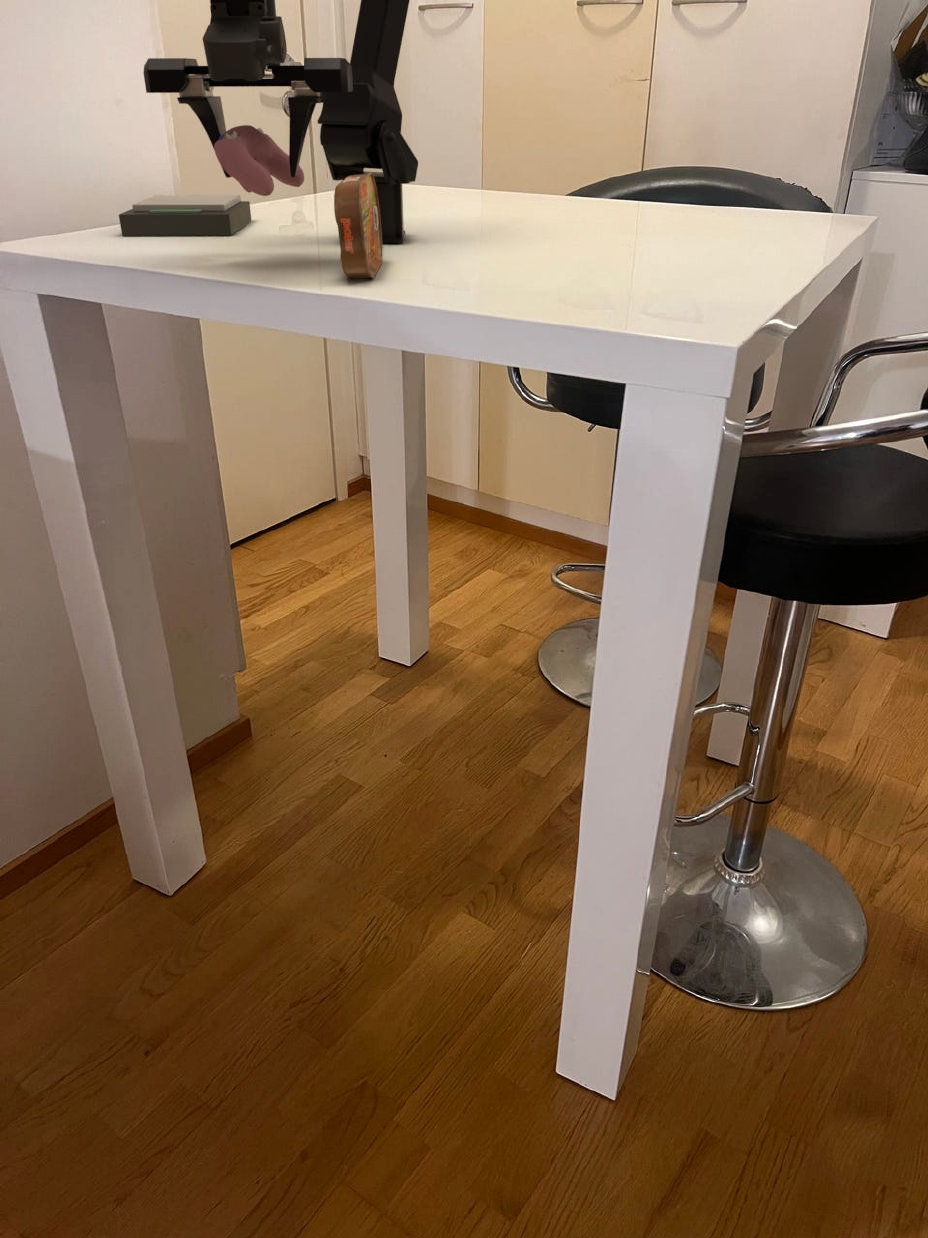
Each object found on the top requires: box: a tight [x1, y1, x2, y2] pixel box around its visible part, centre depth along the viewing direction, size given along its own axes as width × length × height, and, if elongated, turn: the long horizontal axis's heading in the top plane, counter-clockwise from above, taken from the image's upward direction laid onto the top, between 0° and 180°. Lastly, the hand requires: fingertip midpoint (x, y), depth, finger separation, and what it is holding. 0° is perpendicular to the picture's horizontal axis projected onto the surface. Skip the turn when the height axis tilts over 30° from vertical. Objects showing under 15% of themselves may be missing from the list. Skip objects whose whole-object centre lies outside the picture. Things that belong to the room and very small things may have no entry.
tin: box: [333, 173, 384, 279], centre depth 89 cm, size 15×3×8 cm, turn 179°
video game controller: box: [213, 124, 305, 197], centre depth 92 cm, size 10×5×7 cm, turn 168°
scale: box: [118, 194, 252, 237], centre depth 116 cm, size 13×13×3 cm
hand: (261, 176), depth 93 cm, fingers closed on video game controller, 6 cm apart
